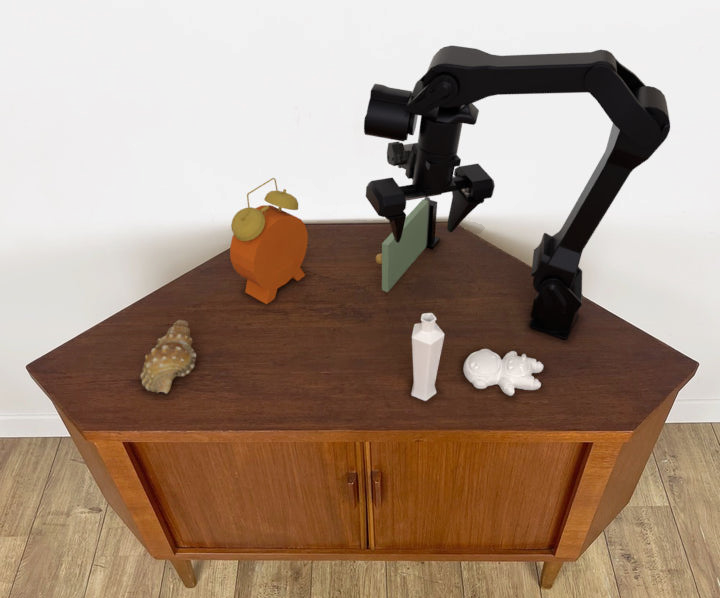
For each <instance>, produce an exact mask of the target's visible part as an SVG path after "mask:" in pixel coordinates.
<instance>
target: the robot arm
mask: <svg viewBox="0 0 720 598" xmlns="http://www.w3.org/2000/svg"><path fill="white" fill-rule="evenodd" d="M580 93H582V94H583V93H585V94H586V93H587V94H590V95H591V96H592V98H593V99H595V101H597V103H598V104H599V106H600V108H601V109H602V110H603V111H604V113H605V115H606V116H607V117H608V118H609V120H610V121H611V123H612V125H611V129H610V131H609V132H610V133H609V137H608V140H607V144H606V148H605V151H604V152H603V154H602V156H601V158H600V160H598V163H597V165H596V166H595V168H594V170H593V171H592V173H591V175H590V177H589V179H588V180H587V182H586V184H585V186H584V188H583V190H582V191H581V193H580V195H579V197H578V198H577V200H576V202H575V204H574V205H573V207H572V209H571V211H570V213H569V214H568V216H567V218H566V220H564V221H565V222H564V223H563V225H562V227H561V228H560V230H559V231H558V232H556V233H554V234H553V235H550V234H549V233H547V232H544V233H543V234H542V237H541V240H540V243H539V245H537V246H536V247H535V248H534V249H533V253H532V254H533V256H532V265H531V277H533V278H532V287H533V288H534V290H535V291H536V292H537V294H536V295H535V297H534V298H533V303H532V308H531V312H530V318H531V321H530V322H529V325H528V327H529V328H530V329H532V330H535V331H538V332H540V333H543V334H546V335H549V336H552V337H555V338H558V339H560V340H563V341H566V340H568V339H569V337H570V335H571V334H572V332H573V330H574V327H575V326H576V324H577V322H578V320H579V317H580V315H579V314H578V313H579V311H580V308H581V307H582V305H583V296H584V295H583V269H581V268H580V262H581V258H582V254H583V251H584V249H585V248H586V246H587V244H588V243H589V241H590V240H591V238H592V236H593V235H594V233H595V232H596V230H597V228H598V227H599V225H600V224H601V222H602V220H603V218H604V217H605V215H606V214H607V212H608V211H609V209H610V207H611V205H613V202H614V201H615V200H616V197H617V196H618V194H619V193H620V191H621V190H622V187H623V186H624V184H626V181H627V180H628V178H629V177H630V175H631V173H632V172H633V171H634V170H635V169H636V168H638V167H639V166H641V165H642V164H644V163H645V162H646V161H648V160H649V159H650V158H651V157H652V155H654V153H655V152H656V151H657V150H658V149H659V148H660V147H661V146H662V144H663V143H664V142H665V141H666V139H668V137H669V134H670V131H671V121H670V120H671V119H670V114H669V108H668V102H667V99H666V95H665V94H664V93H663V92H662V90H661V89H658V88H657V87H655V86H650V85H646V84H645V82H643V81H642V80H641V78H639V76H638V75H636V73H634V72H633V71H632V70H631V69H629V68H627V66H625V65H623V64H622V63H621V62H620V61H619V60H618V59H617V58H616V57H615V55H614V54H613V53H612V52H611V51H609V50H606V49H597V50H594V51H586V52H585V51H584V52H582V51H581V52H565V53H564V52H562V53H561V52H560V53H559V52H558V53H536V54H534V53H533V54H510V55H509V54H507V55H498V54H491V53H489V52H486V51H484V50H481V49H479V48H474V47H466V46H460V45H447V46H443V47H442V48H440V49H439V50H438V51H437V52H436V53H435V54H434V55H433V56H432V59H431V61H430V64H429V66H428V69H427V71H426V72H425V74H424V75H422V76H421V77H420V78H419V79H418V80H417V81H416V82H415V84H414V87H413V89H412V90H407V89H400V88H395V87H390V86H386V85H384V84H381V83H380V84H379V83H374V84H373V86H372V87H371V89H370V95H369V100H368V105H367V109H366V114H365V116H364V121H363V132H364V133H363V134H364V135H365V136H371V137H375V138H381V139H387V140H391V142H388V143H387V148H386V161H387V164H388V165H391V166H393V167H398V168H399V169H403V170H405V173H404V175H405V176H406V178H407V179H408V180H412V182H411V183H412V184H407V185H401V186H400V185H399V184H398V183H397V182H396V180H395V179H394V178H393V177H386V178H381V179H376V180H375V179H374V180H370V181H368V183H367V184H366V187H365V198H366V199H367V201H368V202H369V204H370V205H371V207H372V208H373V209H374V211H375V213H376V214H377V216H379V217H381V218H385V219H386V220H388V221H389V225H390V229H391V233H392V232H393V236H394V239H395V241H396V242H397V243H399V242H400V239H401V237H402V232H403V228H404V223H405V218H406V217H407V214H406V213H405V210H406V208H407V201H413V200H418V199H424V198H425V197H429V198H430V197H435V196H441V195H442V194H447V193H451V194H452V195H451V196H452V198H451V203H450V207H449V213H448V217H447V225H446V226H447V227H446V228H447V231H448V232H449V233H453V232H454V231H455V230H456V228H457V227H458V226H459V225H460V224H461V223H462V222H463V221H464V219H465V218H466V217H467V216H469V214H470V213H471V212H473V211H474V210H475V208H476V207H478V206H479V205H480V204H484V202H485V200H486V199H492V197H493V195H494V192H495V187H496V186H495V185H496V184H495V181H494V178H492V177H491V176H490V175H489V173H488V172H487V171H486V170H485V169H484V168H483V167H482V166H481V165H480V163H473V164H467V165H466V164H465V165H461V161H462V159H461V158H460V157H459V155H458V150H459V144H460V139H461V133H462V129H463V124H465V125H469V126H470V125H471V126H474V125H476V124H477V120H478V117H479V114H480V113H479V112H480V110H479V108H477V106H476V105H475V104H474V103H476V102H478V101H481V100H484V99H486V98H488V97H494V96H497V95H498V96H499V95H501V96H503V95H541V94H543V95H544V94H545V95H546V94H580ZM418 116H420V123H419V131H418V138H417V142H412V143H407V144H404V143H403V142H405V141H408V139H409V138H408V137H409V136H414V135H415V132H416V127H417V122H418ZM393 140H394V141H393ZM392 141H393V142H392ZM455 167H456V168H455Z"/></svg>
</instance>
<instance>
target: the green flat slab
mask: <svg viewBox="0 0 720 598" xmlns="http://www.w3.org/2000/svg"><path fill="white" fill-rule="evenodd" d="M430 200H431V198H430V197H425V198H422V199H421V201H420V202H419V203H418V204H417V205H416V206H415V207H414V208H413V209H412V210H411V211H410V212H409V214H408V215H406V218H405V223H404V228H403V232H402V237H401V239H400V242H399V243H397V242H396V241H395V239H394V236H393V232H392V231H391V233H390V234H389V235H388V236H387V238H385V240H383V242H382V243H381V253H377V255H376V256H375V262H376V263H377V264H379V265H381V291H383V292H385V293H389V292H390V290H391V289H392V288H393V287H394V286H395V285H396V283H397V282H398V281H399V280H400V279H401V277H402V276H403V275H404V274H405V273H406V272H407V271H408V269H409V268H410V267H411V266H412V264H413V263H414V262H415V261H416V260H417V259H418V258H419V256H420V255H421V254H422V252H423V251H424V250H425V249H427V248H426V246H427V241H428V224H429V208H430Z"/></svg>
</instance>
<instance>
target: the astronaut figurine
mask: <svg viewBox="0 0 720 598" xmlns="http://www.w3.org/2000/svg"><path fill="white" fill-rule="evenodd" d="M462 369H463V370H462V371H463V374H464V377H465V378H466V380H467V381H469V382H470V383H471V384H472V385H473V387H475V388H476V389H478V390H479V389H480V390H484V389H487V387H490V386H494V385H498V386H499V388H500V389H501V391H502V392H503V393H504V394H505V395H507V396H509V397H512V396H513V395H514V394H515V389H519V390H524V391H536V390H539V389H540V388H541V386H542V382H540V381H539V378H535V377H534V376H533V375H532V374H539V373H541V372H542V371H543V370H544V364H543V363H542V362H541V361H539V360H538V361H537V359H536V358H532V357H528V356H527V355H526V353H522V354H521V356H520V355H518V352H516V351H515V350H511V351H509V352H507V353H506V354H505V355H504V356H503V358H501V356H500V355H499V354H498V353H496V352H494V351H492V350H491V349H489V348H482V349H480V350H477V351H474V352H472V353H470V354H469V355H468V356H467V358H466V359H465V361H464V363H463V368H462Z"/></svg>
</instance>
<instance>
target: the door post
mask: <svg viewBox="0 0 720 598" xmlns="http://www.w3.org/2000/svg"><path fill="white" fill-rule="evenodd" d="M437 212H438V201H437V200H433V199H430V208H429V224H428V241H427V246H426V248H425V249H429V250H431V251H433V250H434V249H435V247H436V246H437V245H438V244H439V243H440V237H437V236H436V228H437V227H436V226H437V215H438V213H437Z"/></svg>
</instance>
